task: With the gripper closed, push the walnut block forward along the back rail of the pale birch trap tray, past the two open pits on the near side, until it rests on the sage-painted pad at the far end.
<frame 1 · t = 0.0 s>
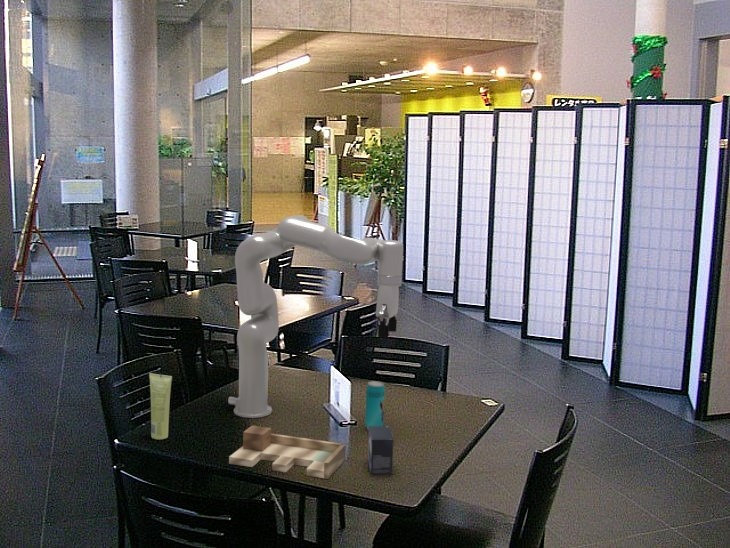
hand: (387, 334, 254), 31 cm above the table, fingers open, 9 cm apart
beverage can: (374, 429, 260), on the table
trap tray: (285, 461, 230), on the table
small box: (379, 468, 228), on the table
tube: (160, 437, 245), on the table
walnut block: (257, 446, 235), point 2 cm above the table, touching trap tray
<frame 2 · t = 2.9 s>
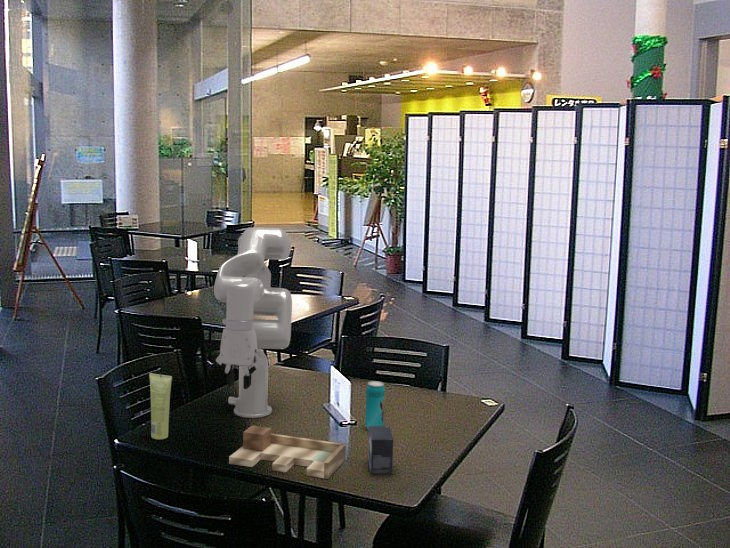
hand: (238, 386, 234), 19 cm above the table, fingers open, 4 cm apart
nothing on the table moved.
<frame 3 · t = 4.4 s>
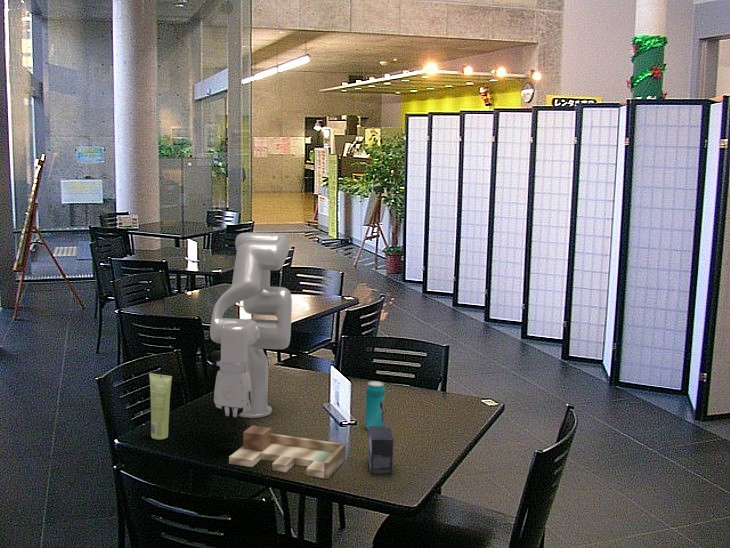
hand: (232, 428, 236), 7 cm above the table, fingers closed
nothing on the table moved.
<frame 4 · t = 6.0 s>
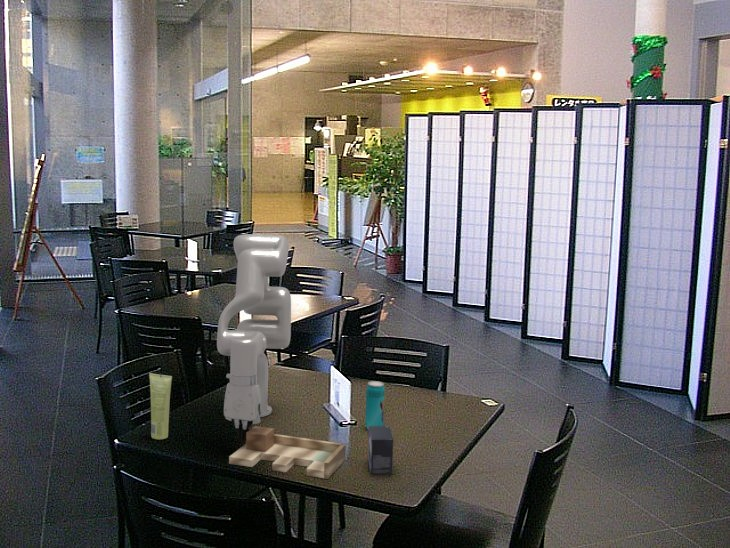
hand: (242, 440, 236), 3 cm above the table, fingers closed
walnut block: (260, 447, 235), point 2 cm above the table, touching gripper
everything else where it was.
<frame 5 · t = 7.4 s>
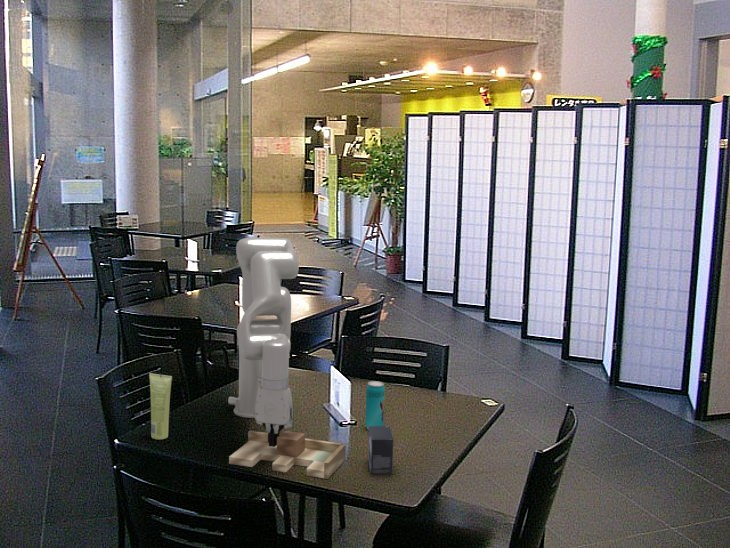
hand: (273, 445, 233), 3 cm above the table, fingers closed
walnut block: (290, 452, 232), point 2 cm above the table, touching gripper
everything else where it was.
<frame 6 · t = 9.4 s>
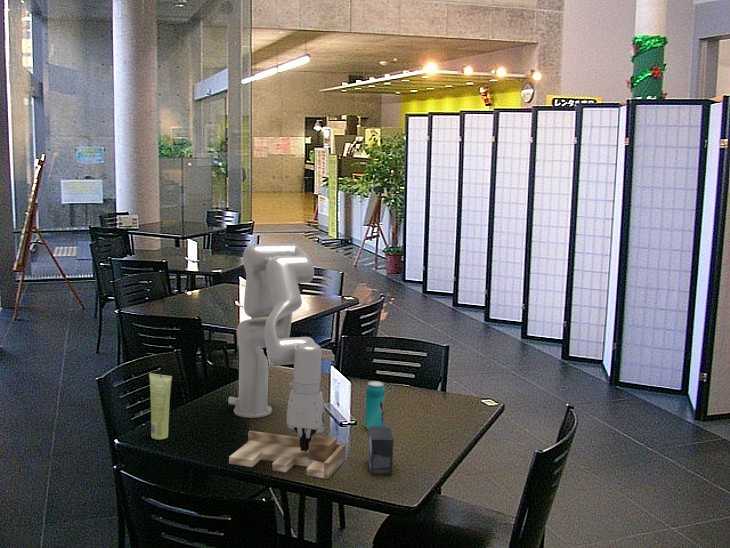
hand: (305, 449, 231), 3 cm above the table, fingers closed
walnut block: (322, 457, 229), point 2 cm above the table, touching gripper, trap tray
everything else where it was.
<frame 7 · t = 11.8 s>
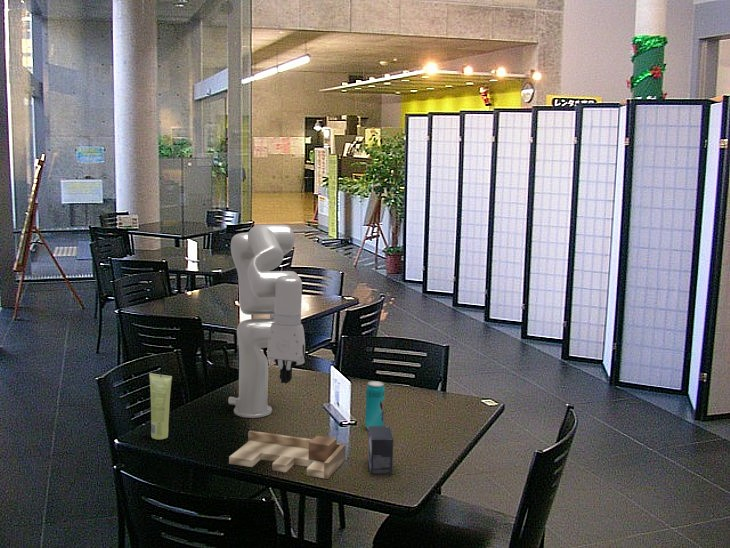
hand: (285, 381, 233), 21 cm above the table, fingers closed
walnut block: (322, 457, 229), point 2 cm above the table, touching trap tray
everything else where it was.
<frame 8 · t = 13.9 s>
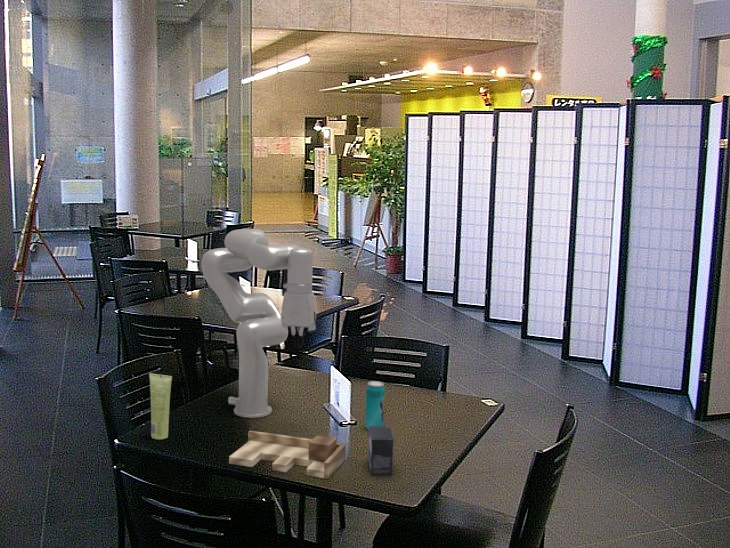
hand: (298, 347, 250), 27 cm above the table, fingers closed
nothing on the table moved.
at the end: walnut block inside the target area on the trap tray (1.3 cm from its centre), point 2.0 cm above the trap tray's base; walnut block tilted 0° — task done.
